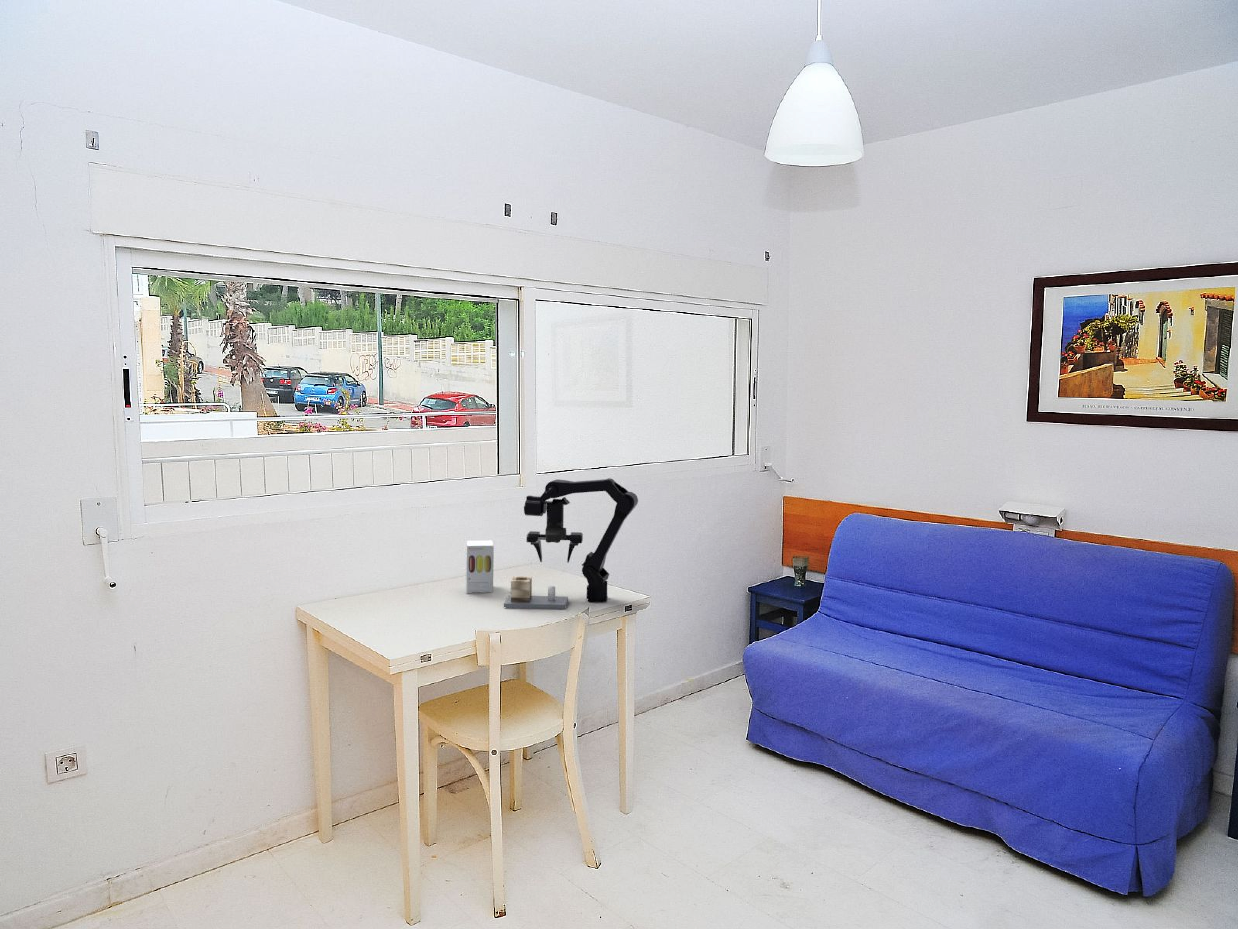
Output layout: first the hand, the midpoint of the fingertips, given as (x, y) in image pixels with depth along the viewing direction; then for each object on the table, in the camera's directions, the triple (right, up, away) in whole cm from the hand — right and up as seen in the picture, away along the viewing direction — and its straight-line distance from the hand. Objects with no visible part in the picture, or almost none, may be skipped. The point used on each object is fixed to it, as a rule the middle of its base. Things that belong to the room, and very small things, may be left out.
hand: (554, 562), depth 276 cm
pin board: (-5, -13, -9) cm, 16 cm away
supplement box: (-27, -11, +9) cm, 30 cm away
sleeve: (-10, -11, -9) cm, 18 cm away
